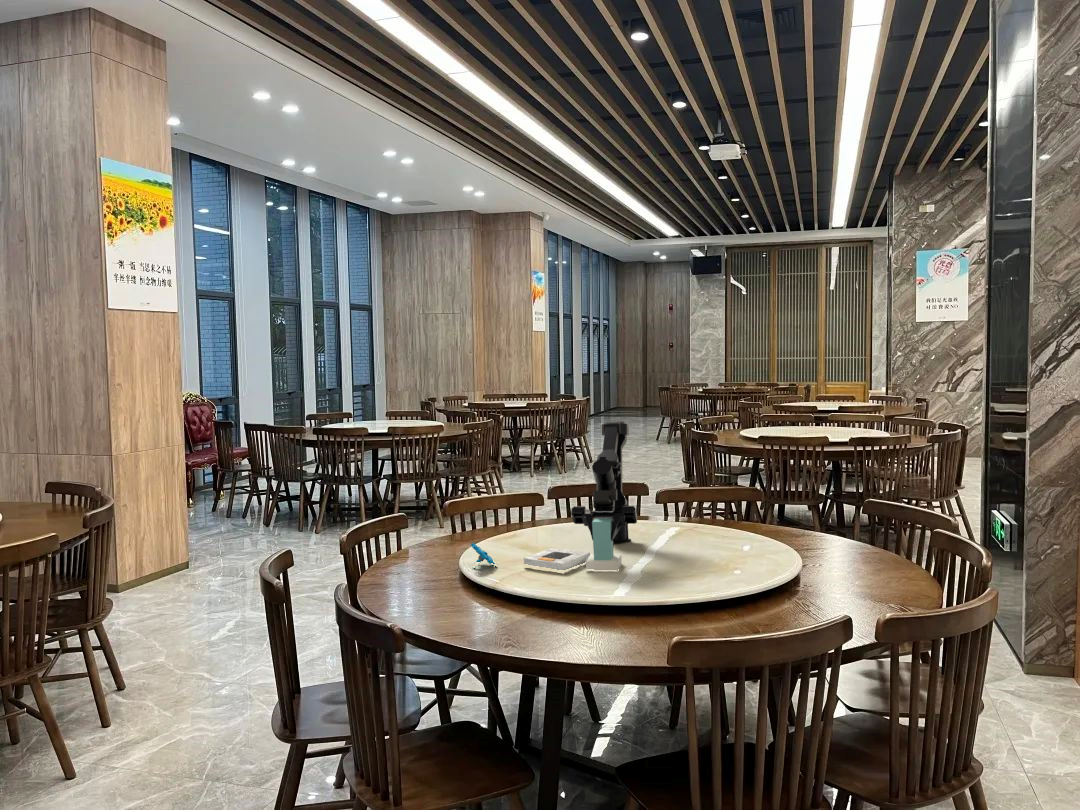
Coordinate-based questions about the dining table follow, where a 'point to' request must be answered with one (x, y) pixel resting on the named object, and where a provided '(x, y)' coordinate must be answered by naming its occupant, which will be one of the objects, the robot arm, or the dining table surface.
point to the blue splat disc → (482, 554)
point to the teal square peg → (602, 539)
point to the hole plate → (557, 558)
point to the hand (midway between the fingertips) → (602, 539)
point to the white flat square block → (604, 563)
